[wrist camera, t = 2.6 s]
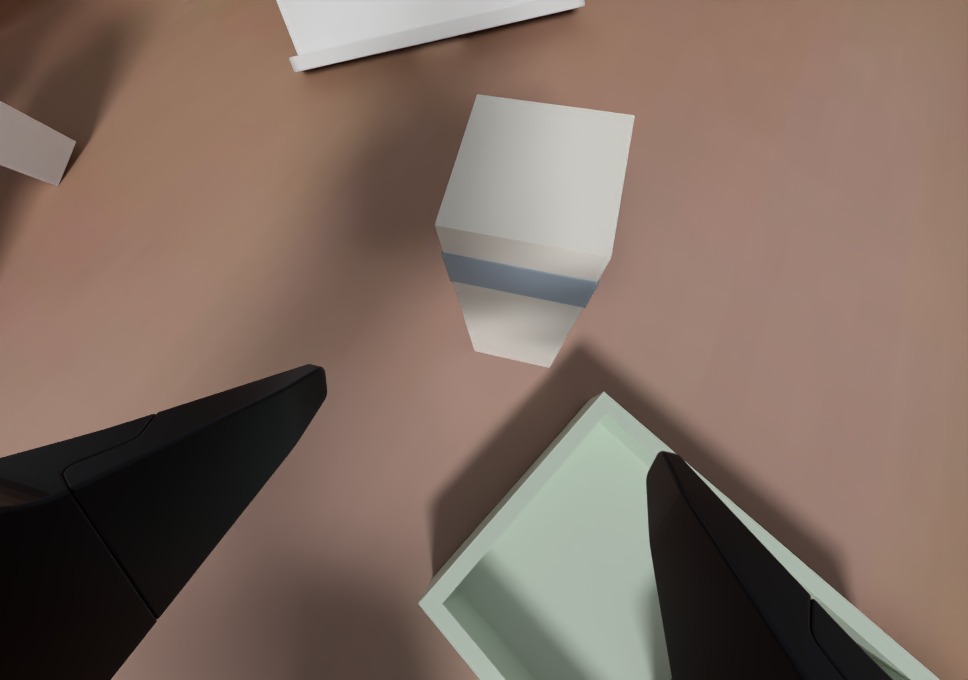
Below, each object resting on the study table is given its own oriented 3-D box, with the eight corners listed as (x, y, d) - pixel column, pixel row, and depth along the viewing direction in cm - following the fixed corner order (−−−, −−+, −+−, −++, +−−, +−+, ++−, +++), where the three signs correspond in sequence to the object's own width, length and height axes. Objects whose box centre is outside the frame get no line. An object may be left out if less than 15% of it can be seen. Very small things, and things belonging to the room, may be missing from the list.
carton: (550, 368, 23) (612, 259, 10) (473, 351, 24) (432, 226, 10) (564, 297, 24) (636, 114, 11) (491, 282, 25) (475, 93, 12)
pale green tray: (706, 900, 16) (760, 1023, 12) (432, 577, 20) (418, 603, 17) (863, 640, 18) (945, 684, 15) (588, 399, 22) (603, 391, 19)
